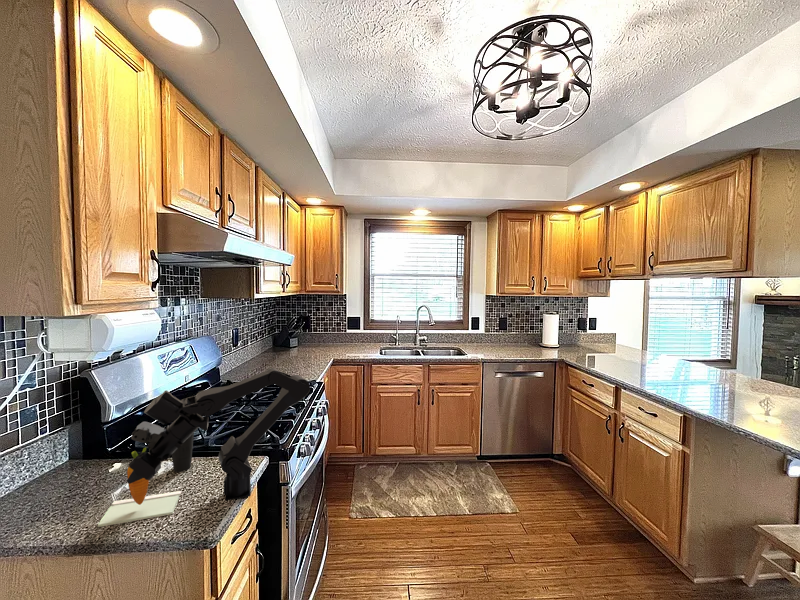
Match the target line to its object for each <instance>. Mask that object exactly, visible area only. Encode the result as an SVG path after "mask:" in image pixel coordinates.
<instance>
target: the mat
mask: <svg viewBox="0 0 800 600" xmlns="http://www.w3.org/2000/svg"><path fill="white" fill-rule="evenodd" d="M179 499H180V495H177V496H170V497H164V498H158V499H152V500H146V501H143V502H142V504H141V505H139V504H137V503H136V502H133V503H127V504H121V505H114V506H112V505H111V506H109V507H108V509H107V510H106V512H105V514H104V515H103V517H102V518H101V520H99V522H98V523H97V528H101V527H102V528H103V527H107V526H112V525H118V524H124V523H130V522H135V521H140V520H146V519H152V518H158V517H163V516H168V515H173V514H174V512H175V509H176V507H177V505H178V502H179Z"/></svg>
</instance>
